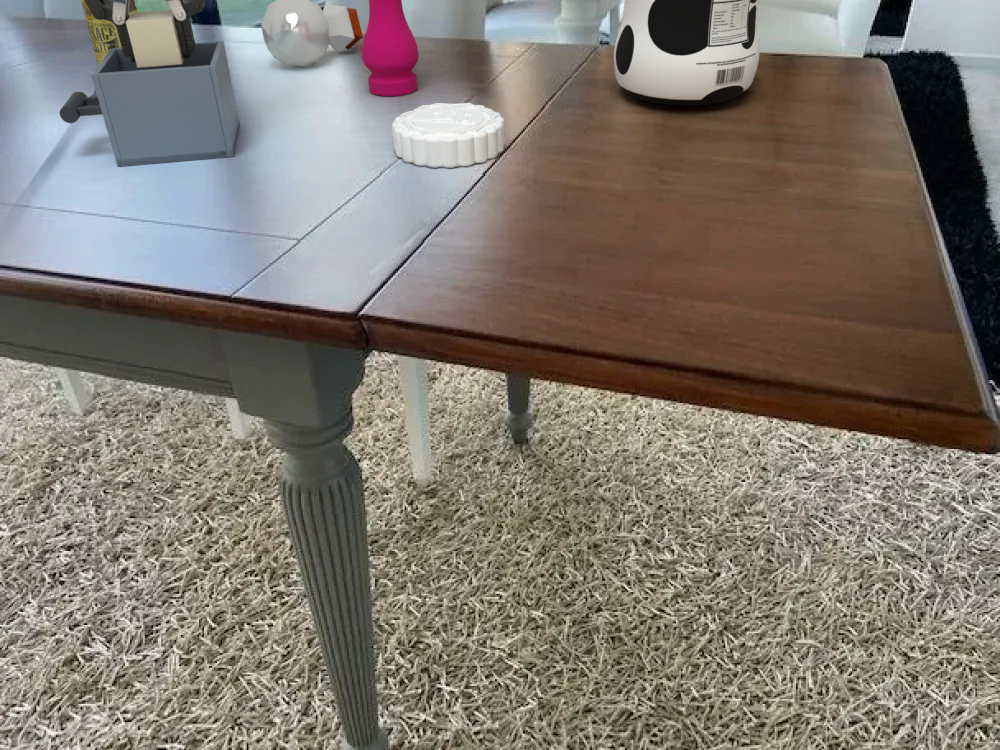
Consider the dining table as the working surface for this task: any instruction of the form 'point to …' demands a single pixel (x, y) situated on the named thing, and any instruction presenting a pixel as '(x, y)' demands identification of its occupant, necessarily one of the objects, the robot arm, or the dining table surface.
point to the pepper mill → (389, 50)
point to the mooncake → (448, 135)
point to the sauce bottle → (104, 31)
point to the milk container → (687, 50)
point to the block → (154, 39)
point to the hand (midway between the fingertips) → (161, 57)
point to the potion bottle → (308, 30)
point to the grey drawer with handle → (163, 107)
